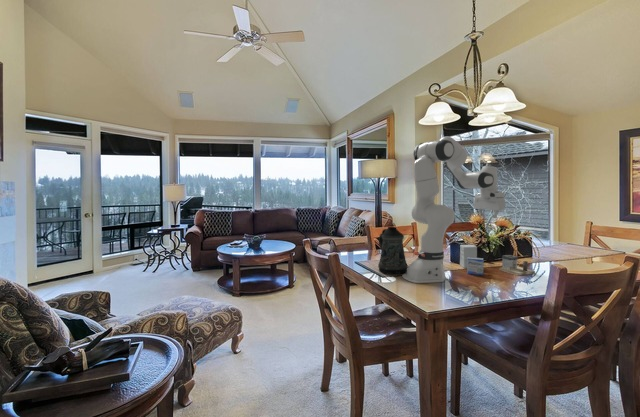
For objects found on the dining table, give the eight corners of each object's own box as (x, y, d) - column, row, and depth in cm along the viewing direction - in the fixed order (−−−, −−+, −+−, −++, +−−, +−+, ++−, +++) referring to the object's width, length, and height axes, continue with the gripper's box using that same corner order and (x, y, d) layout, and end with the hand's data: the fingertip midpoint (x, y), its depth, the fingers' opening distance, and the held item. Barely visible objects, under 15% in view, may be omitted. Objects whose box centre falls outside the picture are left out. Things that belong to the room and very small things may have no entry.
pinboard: (518, 275, 174) (518, 264, 173) (499, 269, 185) (499, 259, 184) (534, 273, 177) (535, 262, 177) (515, 267, 189) (516, 257, 188)
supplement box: (472, 265, 196) (472, 244, 195) (476, 268, 189) (477, 246, 188) (459, 265, 197) (459, 244, 196) (463, 268, 190) (464, 246, 189)
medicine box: (466, 273, 178) (467, 258, 178) (467, 271, 182) (467, 256, 182) (483, 275, 175) (483, 259, 174) (483, 273, 179) (483, 258, 178)
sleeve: (509, 270, 180) (510, 257, 179) (501, 267, 185) (502, 255, 184) (517, 269, 181) (517, 256, 181) (509, 266, 187) (509, 254, 186)
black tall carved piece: (400, 276, 175) (400, 230, 173) (368, 271, 187) (368, 228, 185) (412, 269, 188) (412, 227, 186) (381, 265, 200) (381, 224, 198)
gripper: (471, 193, 200) (470, 215, 201) (498, 194, 181) (498, 219, 182) (479, 193, 202) (478, 215, 203) (507, 194, 183) (506, 218, 184)
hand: (488, 217), depth 192 cm, fingers open, 8 cm apart
